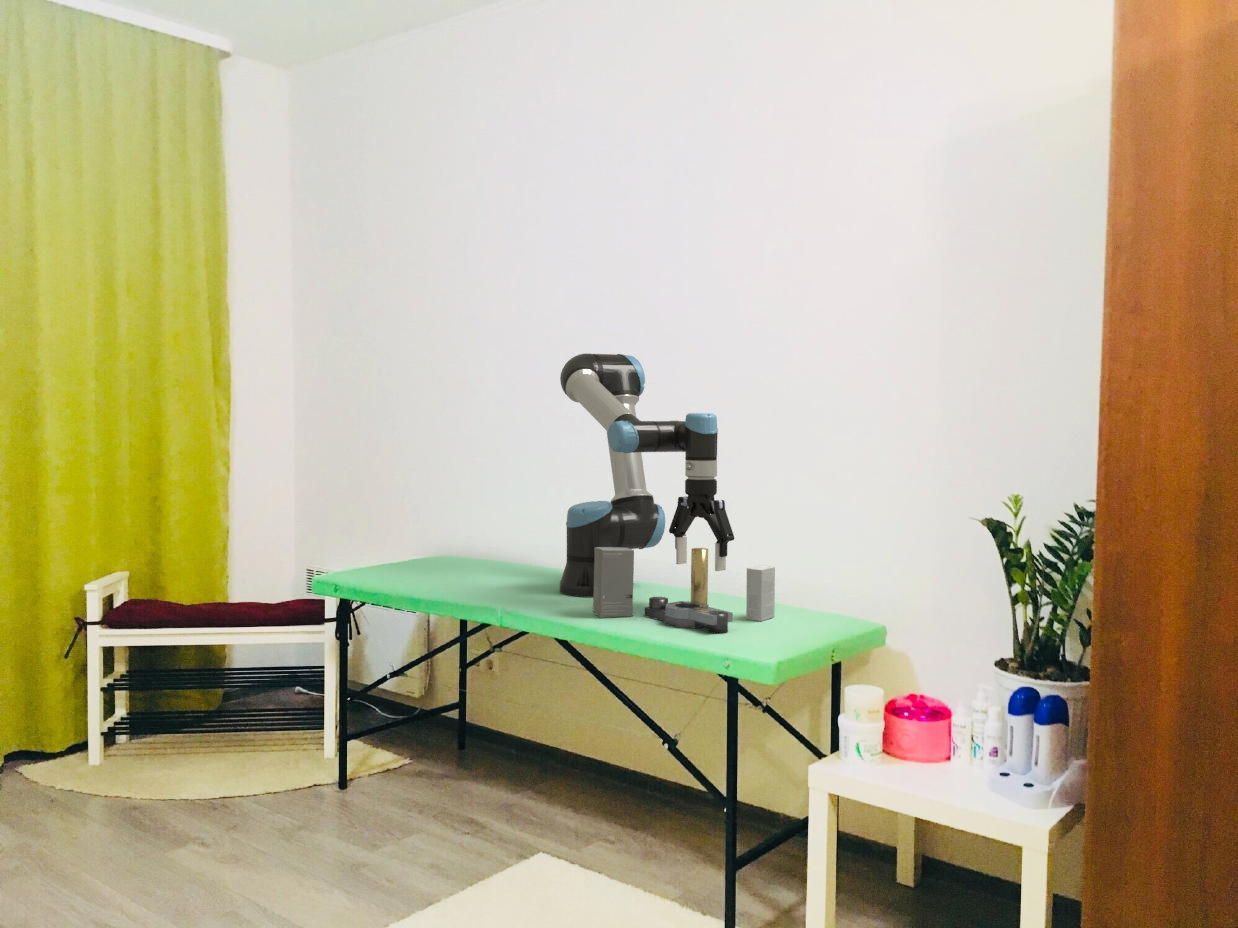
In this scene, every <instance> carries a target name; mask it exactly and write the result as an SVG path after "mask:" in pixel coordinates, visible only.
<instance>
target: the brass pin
mask: <svg viewBox="0 0 1238 928" xmlns="http://www.w3.org/2000/svg"><path fill="white" fill-rule="evenodd" d="M690 553H691V556H690V557H691V558H690V560H691V563H690V565H691V566H690V602H700V603H704V604H708V594H709V593H708V591H709V590H708V589H709V587H708V586H709V585H708V584H709V548H706V547H694V548H691V552H690Z"/></svg>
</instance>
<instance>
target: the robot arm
mask: <svg viewBox="0 0 1238 928" xmlns="http://www.w3.org/2000/svg"><path fill="white" fill-rule="evenodd" d="M559 381H560V385H561V388H562V391H563V392H564V394H565V395H566V396H567V397H568V399H570V400H571V401H572V402H575V403H579V404H580V405H581V407H583V408H584V409H585V411H587V412H588V414H590V416H592V417H593V418H594V419H595V420H596V421H597V423H599V425H600V426H601V427H602V428H603V429H604V430H605V431H606V438H607V443H608V444H607V445H608V452H609V458H610V459H609V460H610V467H611V474H612V481H613V488H614V496H613V497H612V498H611V500H610V501H607V500H597V501H594V500H593V501H585V502H580V503H576V504H573V505H571V506H570V507H569V508H568V510H567V515H566V522H565V526H566V563H565V566H564V569H563V573H562V575H561V576H562V577H561V580H560V582H559V593H561V594H563V595H567V596H574V597H584V598H585V597H589V598H591V597H593V594H594V560H595V550H594V548H595V547H623V548H629V549H632V550H636V549H637V550H643V549H649V548H653V547H656V546H657V545H658V544H659V543H660V542H661V540H662V539H663V536H664V533H665V529H666V514H665V511H664V508H663V507H662V505H660V504H657V503H655V502H654V501H655V500H654V499H655V498H654V495H653V494H652V493H651V492H650V491H648V490H647V483H646V477H645V469H644V463H643V456H642V453H673V452H674V453H679V452H680V453H685V457H684V458H685V465H684V466H685V469H684V471H685V472H684V473H685V474H684V475H685V477H687V478H686V479H685V480H684V493H685V496H678V498H677V506H676V508H675V512H674V514H673V518H672V520H671V523H670V526H669V529H668V532H669V534H673V536H674V545H675V546H674V547H675V548H674V549H675V551H676V558H675V559H676V561H675V562H676V563H675V564H676V565H685V564H687V563H688V561H687V560H688V551H687V549H688V537H687V534H686V533H687V531H689V528H690V527H691V525H692V523H693V522H694V520H695V519H696V518H702V519H704V520H705V521H706V523H707V524H708V526H709V528H710V529H711V531H712V534H713V535H714V536H715V539H716V542H715V543H714V571H715V572H723V571H726V569H727V565H726V563H727V559H726V558H727V557H728V543H729V542H731V541H734V540H735V536H734V535H735V534H734V532H733V529H732V525H731V522H730V520H729V517H728V514H727V511H726V503H725V500H724V499H715V495H717V493H718V481H717V479H716V477H718V431H719V428H718V419H717V415H716V414H715V413H712V412H711V413H709V412H708V413H706V412H705V413H702V412H700V413H699V412H697V413H695V412H692V413H691V412H689V413H687V414H686V415H685V420H640V419H639V418H638V417H637V413H636V405H637V403H638V402H639V401H640V396H641V395H642V394H643V392H644V391H645V384H646V375H645V371H644V368H643V366H642V364H641V362H640V361H639V360H638V359H637V358H636V357H635V356H633V355H626V354H623V353H617V354H615V353H614V354H613V353H612V354H611V353H610V354H609V353H607V354H606V353H581V354H578V355H575V356H573V357H571V358H570V359H569V360H567V362H565V364H564V366H563V367H562V370H561V372H560V379H559ZM686 495H687V496H686Z"/></svg>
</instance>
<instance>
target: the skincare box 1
mask: <svg viewBox="0 0 1238 928" xmlns="http://www.w3.org/2000/svg"><path fill="white" fill-rule="evenodd" d="M594 550H595V560H594V594H593V599H592V601H593V602H592V604H593V605H592V612H593V613H594V615H595V614H596V615H597V616H598V617H599V618H601V619H605V618H607V619H608V618H620V617H632V616H633V606H634V605H633V603H634V572H635V571H634V568H635V549H629V548H623V547H595V548H594Z"/></svg>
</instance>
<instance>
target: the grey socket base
mask: <svg viewBox="0 0 1238 928" xmlns="http://www.w3.org/2000/svg"><path fill="white" fill-rule="evenodd" d="M648 600H649V602H648V606H645V607H644V617H648V618H651V619H655V620H658V621H661V622H665V625H667V626H670V627H674V628H686V629H690V628H691V629H696V628H702V627H703V628H704V627H707V632H708V633H711V634H719V635H720V634H726V633H728V631H729V630H728V629H729V623H733V615H734V614H733V612H731V611H728V610H724V609H719V608H715V607H712V606H710V605H709V604H708V603H707V604H704V603H700V602H691V601H690V600H688V601H685V600H683V601H681V600H680V601H679V600H678V601H673V602H669V598H668V597H665V596H651V597H649V598H648Z"/></svg>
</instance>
